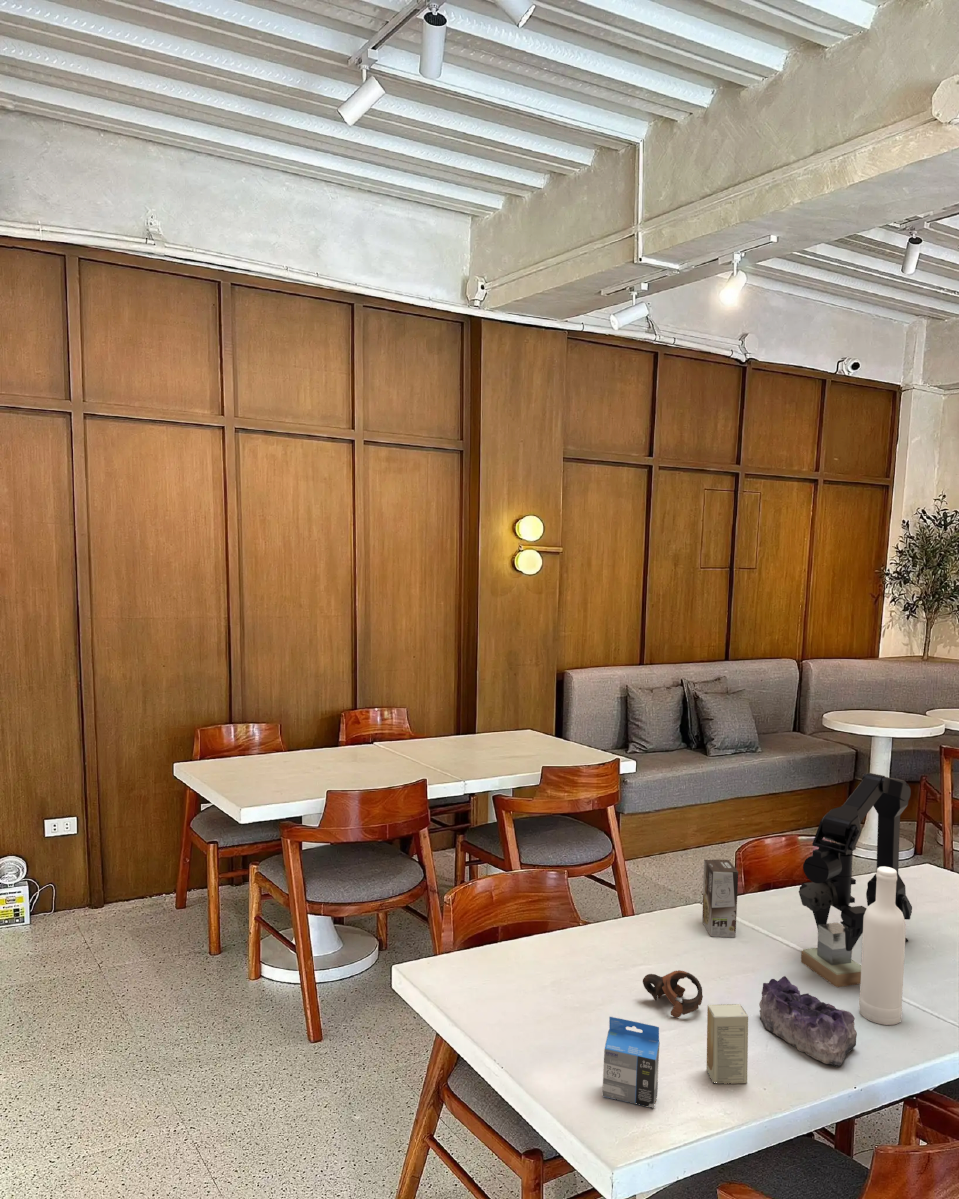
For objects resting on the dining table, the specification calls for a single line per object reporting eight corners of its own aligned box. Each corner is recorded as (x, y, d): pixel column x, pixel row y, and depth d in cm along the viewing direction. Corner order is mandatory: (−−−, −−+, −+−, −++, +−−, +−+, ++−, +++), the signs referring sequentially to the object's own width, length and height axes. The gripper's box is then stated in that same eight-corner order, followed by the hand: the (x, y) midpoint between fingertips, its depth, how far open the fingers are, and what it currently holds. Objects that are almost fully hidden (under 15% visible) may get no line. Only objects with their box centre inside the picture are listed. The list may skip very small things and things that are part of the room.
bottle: (883, 1029, 173) (890, 878, 171) (849, 1010, 180) (856, 865, 178) (910, 1020, 176) (917, 872, 175) (876, 1002, 183) (883, 860, 182)
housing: (817, 955, 198) (818, 923, 197) (836, 952, 199) (837, 921, 199) (831, 965, 193) (833, 932, 193) (851, 962, 194) (852, 930, 194)
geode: (738, 1025, 174) (743, 973, 174) (775, 1016, 180) (780, 967, 181) (831, 1073, 157) (836, 1015, 157) (868, 1061, 163) (872, 1006, 164)
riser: (830, 958, 203) (831, 945, 203) (867, 983, 192) (868, 969, 191) (801, 962, 201) (801, 949, 201) (836, 987, 189) (836, 973, 189)
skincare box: (739, 1069, 158) (742, 1003, 157) (747, 1084, 154) (750, 1016, 153) (704, 1069, 158) (706, 1003, 157) (711, 1084, 154) (713, 1016, 153)
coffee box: (736, 937, 213) (739, 872, 212) (710, 937, 213) (712, 871, 212) (727, 922, 222) (729, 858, 221) (701, 921, 222) (703, 858, 221)
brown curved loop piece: (696, 997, 185) (707, 973, 180) (692, 1038, 177) (704, 1014, 172) (639, 977, 187) (650, 953, 182) (633, 1016, 179) (644, 992, 174)
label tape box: (601, 1097, 149) (603, 1026, 149) (606, 1084, 153) (609, 1015, 152) (653, 1110, 146) (656, 1038, 145) (658, 1096, 150) (660, 1025, 149)
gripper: (780, 860, 202) (777, 927, 202) (834, 891, 184) (831, 964, 185) (822, 857, 205) (819, 923, 206) (879, 886, 187) (876, 959, 188)
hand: (834, 941), depth 196 cm, fingers open, 9 cm apart
